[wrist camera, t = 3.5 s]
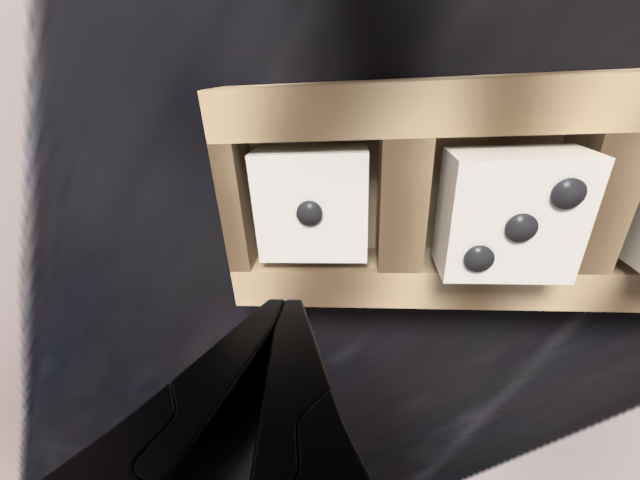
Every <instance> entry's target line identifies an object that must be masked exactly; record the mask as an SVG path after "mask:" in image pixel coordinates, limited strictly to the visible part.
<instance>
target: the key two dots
mask: <svg viewBox="0 0 640 480" xmlns="http://www.w3.org/2000/svg"><path fill="white" fill-rule="evenodd" d="M618 258H619V259H621V260H622V261H623V262H625V263H626V264H628V265H629V266H630V267H632V268H633V269H634V270H636V271H637V272H638V273H640V201H639V204H638V207H637V209H636V212H635V214H634V217H633V220H632V222H631V225H630V228H629V230H628V233H627V236H626V238H625V241H624V243H623V246H622V249H621V251H620V254H619V257H618Z"/></svg>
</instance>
